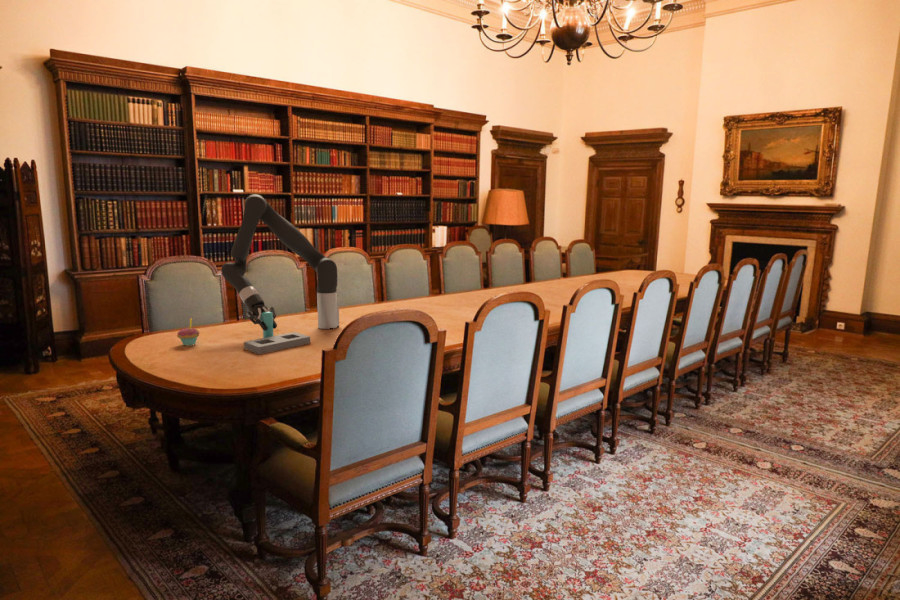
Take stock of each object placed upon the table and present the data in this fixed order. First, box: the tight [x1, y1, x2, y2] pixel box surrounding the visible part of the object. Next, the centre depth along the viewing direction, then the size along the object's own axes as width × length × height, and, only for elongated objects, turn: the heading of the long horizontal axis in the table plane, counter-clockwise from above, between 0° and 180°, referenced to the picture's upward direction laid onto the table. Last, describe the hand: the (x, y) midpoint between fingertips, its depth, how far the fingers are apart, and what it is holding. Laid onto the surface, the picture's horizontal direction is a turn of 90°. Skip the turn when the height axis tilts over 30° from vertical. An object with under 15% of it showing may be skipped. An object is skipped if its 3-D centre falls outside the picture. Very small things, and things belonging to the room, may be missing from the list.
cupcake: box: [176, 317, 200, 346], centre depth 243 cm, size 9×8×12 cm
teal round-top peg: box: [262, 312, 275, 338], centre depth 252 cm, size 4×4×12 cm
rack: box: [243, 331, 311, 355], centre depth 242 cm, size 24×12×3 cm, turn 137°
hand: (270, 328), depth 251 cm, fingers closed on teal round-top peg, 4 cm apart
